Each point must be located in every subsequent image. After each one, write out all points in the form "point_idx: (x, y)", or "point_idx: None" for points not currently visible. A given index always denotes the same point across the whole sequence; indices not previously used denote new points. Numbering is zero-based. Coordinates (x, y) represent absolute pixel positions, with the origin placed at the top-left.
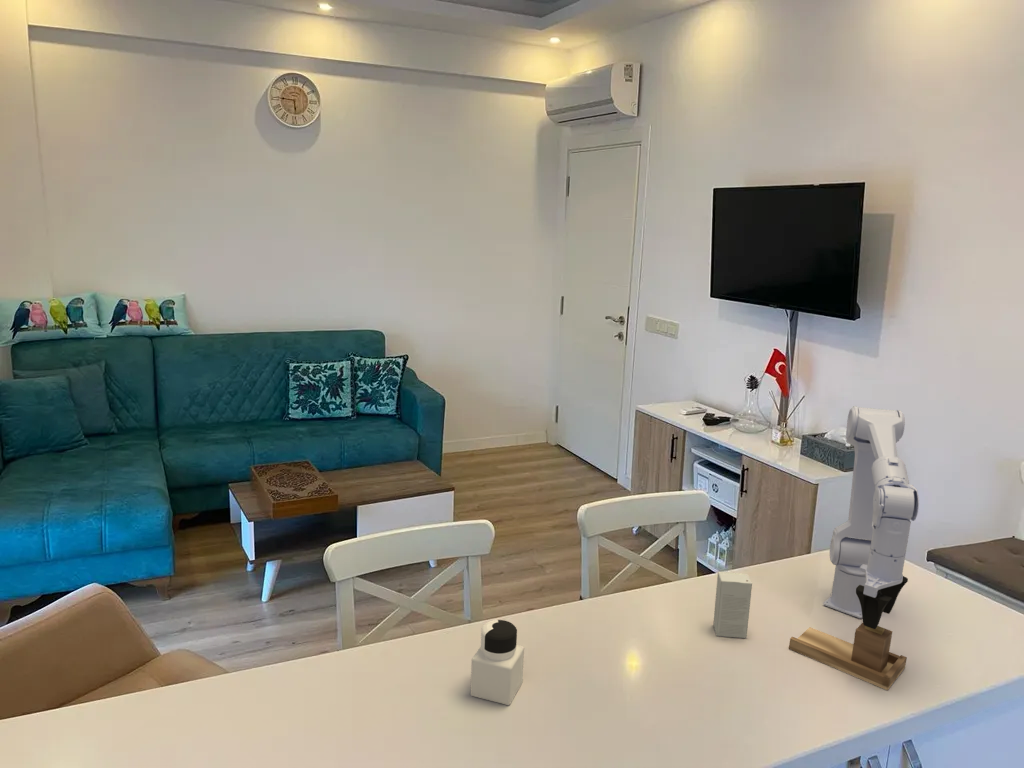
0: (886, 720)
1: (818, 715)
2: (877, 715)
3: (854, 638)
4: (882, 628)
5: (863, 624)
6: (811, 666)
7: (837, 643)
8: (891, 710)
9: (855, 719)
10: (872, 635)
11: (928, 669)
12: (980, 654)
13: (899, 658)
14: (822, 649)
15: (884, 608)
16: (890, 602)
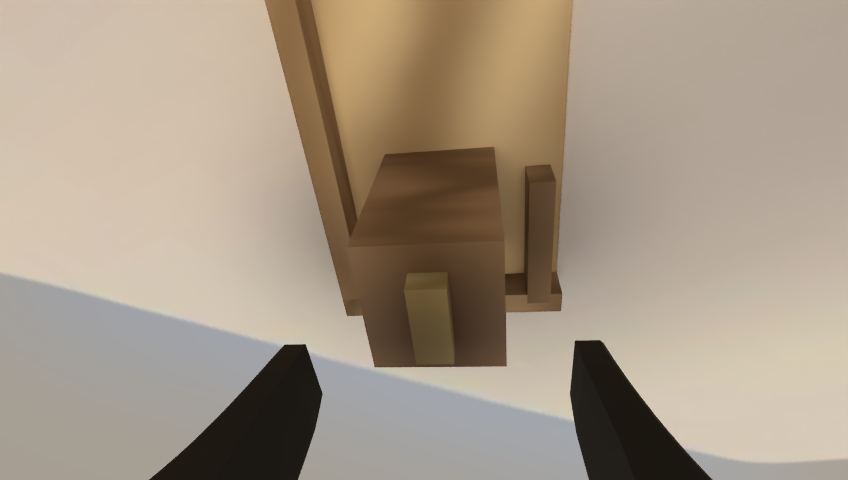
0: (215, 326)
1: (23, 202)
2: (210, 306)
3: (359, 216)
4: (445, 358)
5: (284, 345)
6: (231, 32)
7: (510, 29)
8: (271, 321)
9: (130, 276)
10: (368, 322)
11: (605, 328)
12: (844, 400)
13: (527, 297)
14: (300, 46)
15: (577, 397)
16: (592, 475)
